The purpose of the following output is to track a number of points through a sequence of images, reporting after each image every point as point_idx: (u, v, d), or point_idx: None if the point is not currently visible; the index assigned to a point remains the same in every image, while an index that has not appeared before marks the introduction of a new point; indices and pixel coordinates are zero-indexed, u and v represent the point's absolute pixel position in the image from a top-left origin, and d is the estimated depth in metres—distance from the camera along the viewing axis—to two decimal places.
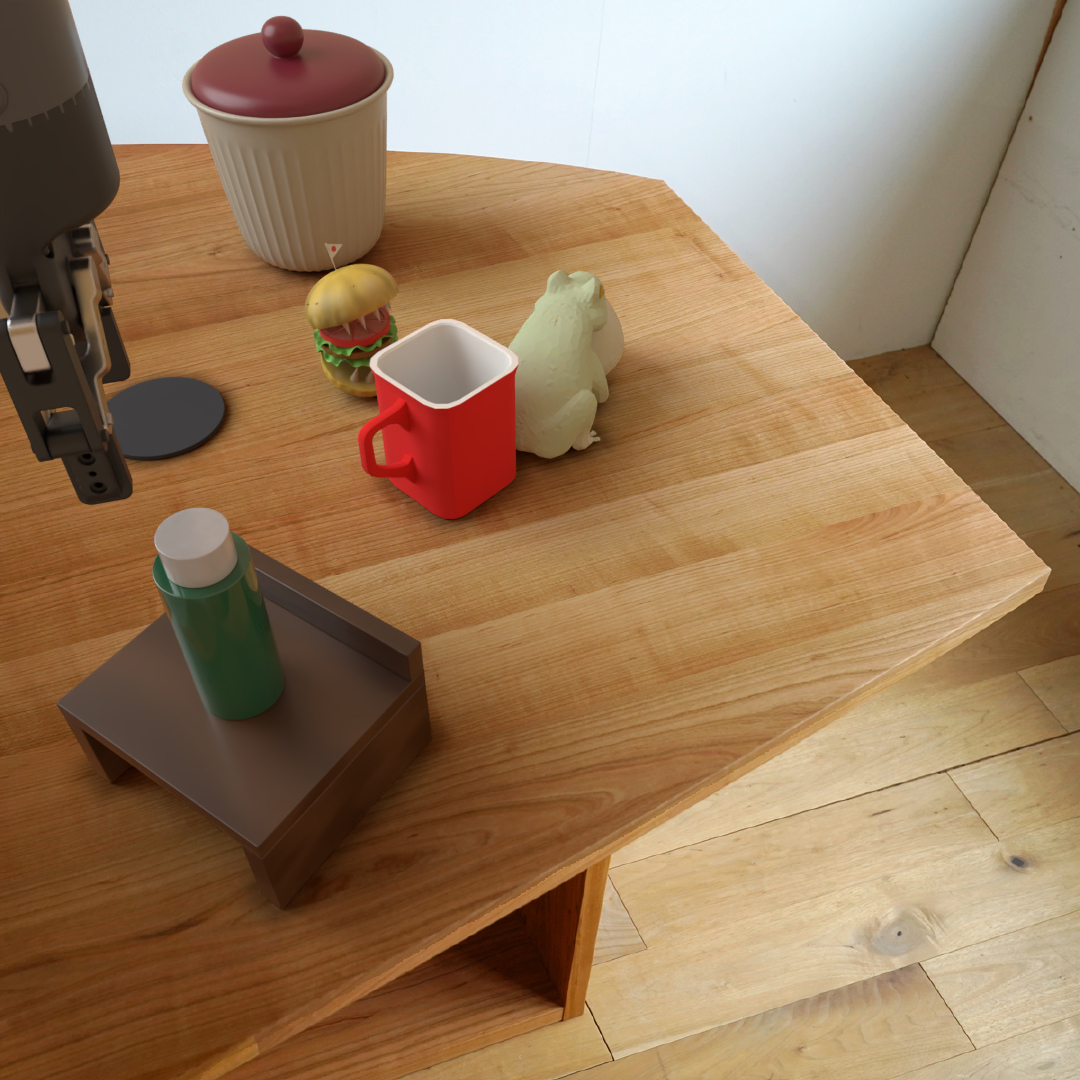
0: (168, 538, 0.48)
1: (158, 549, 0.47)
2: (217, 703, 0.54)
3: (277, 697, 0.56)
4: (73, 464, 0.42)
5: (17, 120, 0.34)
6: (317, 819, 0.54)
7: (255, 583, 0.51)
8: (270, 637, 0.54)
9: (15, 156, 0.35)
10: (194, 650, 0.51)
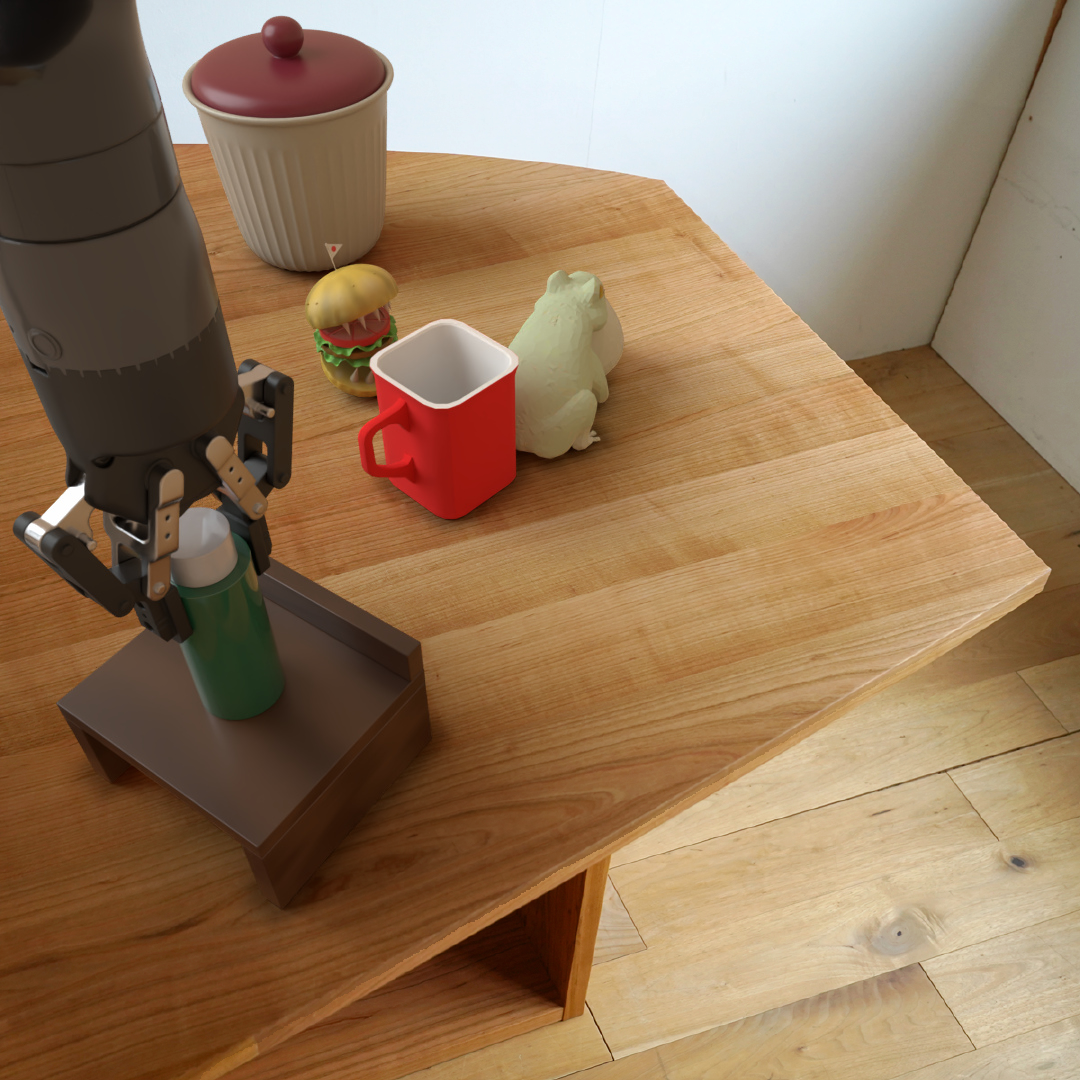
0: None
1: None
2: (217, 703, 0.54)
3: (277, 697, 0.56)
4: None
5: (70, 368, 0.37)
6: (317, 819, 0.54)
7: (255, 583, 0.51)
8: (270, 637, 0.54)
9: (70, 391, 0.38)
10: (194, 650, 0.51)
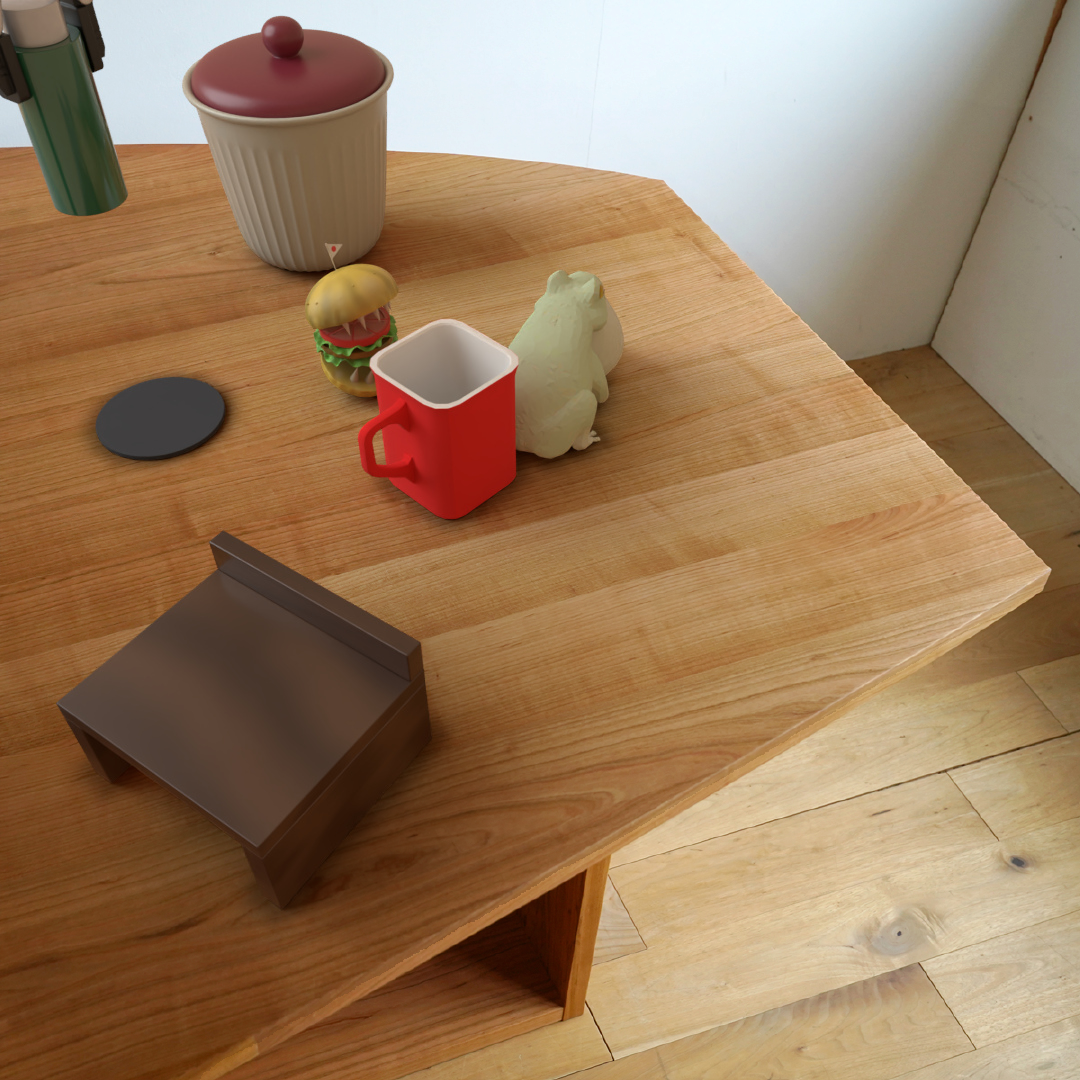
0: (6, 1, 0.58)
1: None
2: (63, 194, 0.64)
3: (118, 203, 0.66)
4: None
5: None
6: (317, 819, 0.54)
7: (86, 64, 0.61)
8: (106, 134, 0.63)
9: None
10: (36, 123, 0.61)
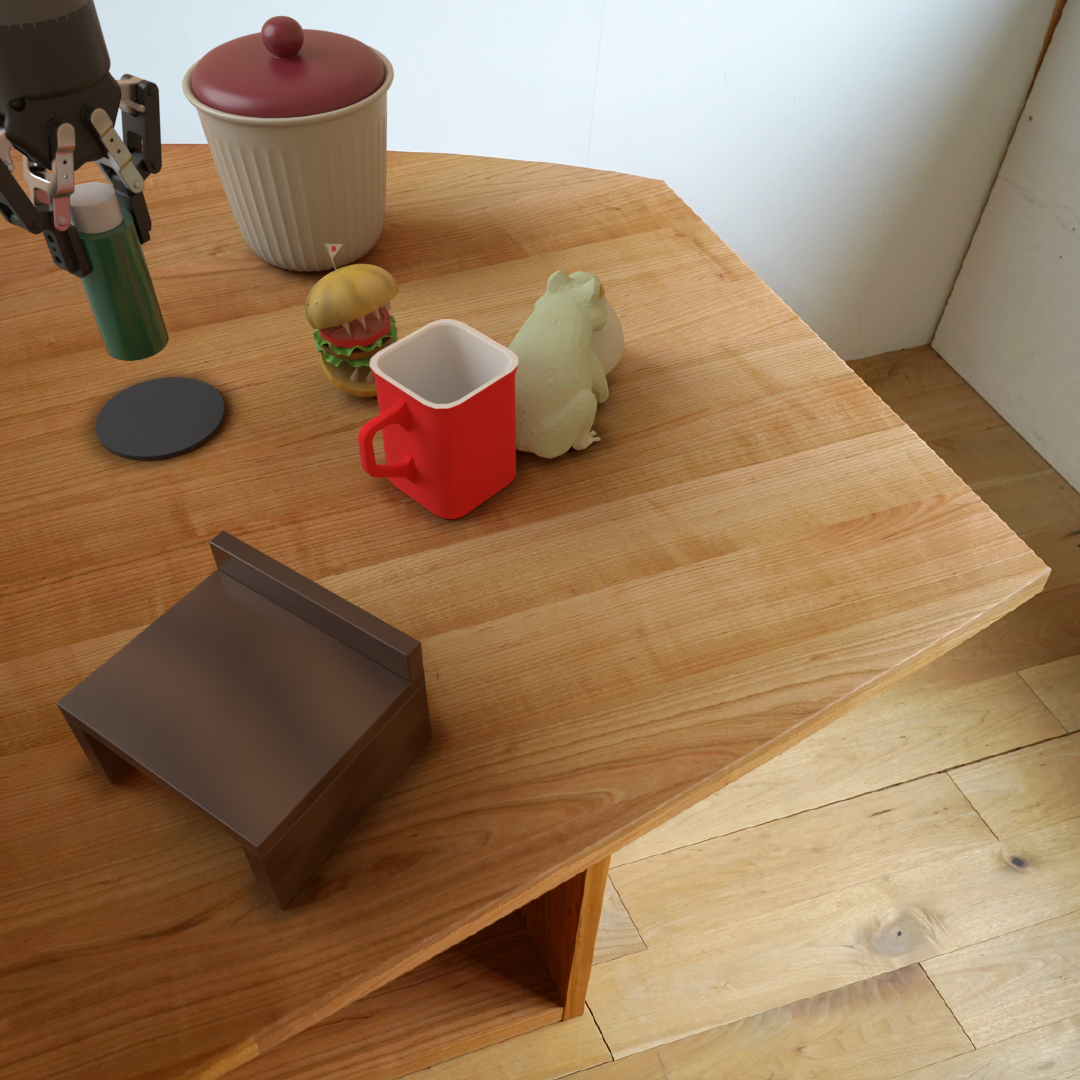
0: (72, 196, 0.69)
1: None
2: (115, 344, 0.75)
3: (161, 348, 0.77)
4: (46, 238, 0.69)
5: None
6: (317, 819, 0.54)
7: (137, 241, 0.72)
8: (152, 294, 0.75)
9: None
10: (94, 291, 0.72)
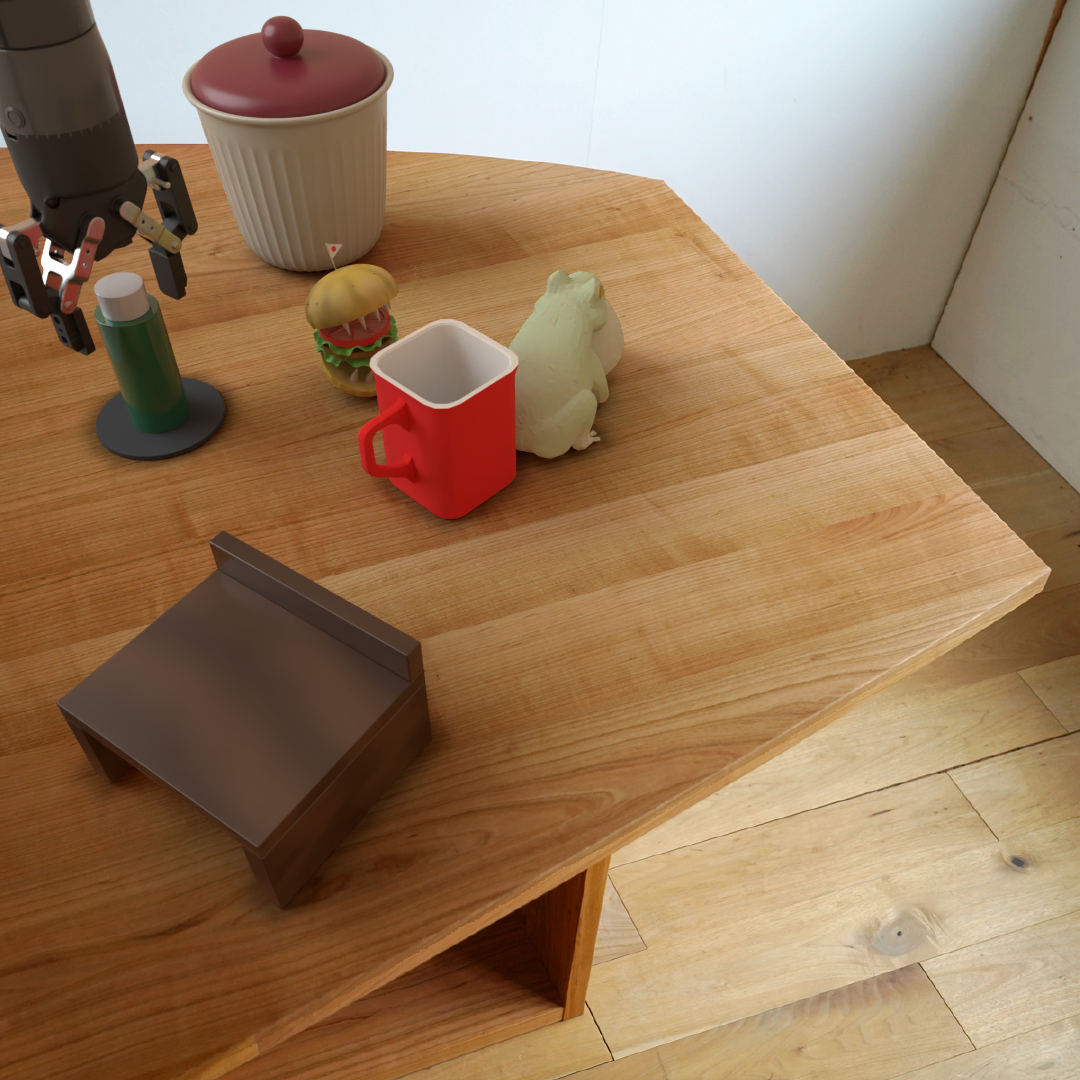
0: (103, 287, 0.74)
1: (96, 293, 0.73)
2: (141, 418, 0.80)
3: (183, 420, 0.82)
4: (52, 319, 0.72)
5: (30, 133, 0.62)
6: (317, 819, 0.54)
7: (162, 326, 0.77)
8: (176, 372, 0.80)
9: (30, 150, 0.63)
10: (123, 371, 0.77)
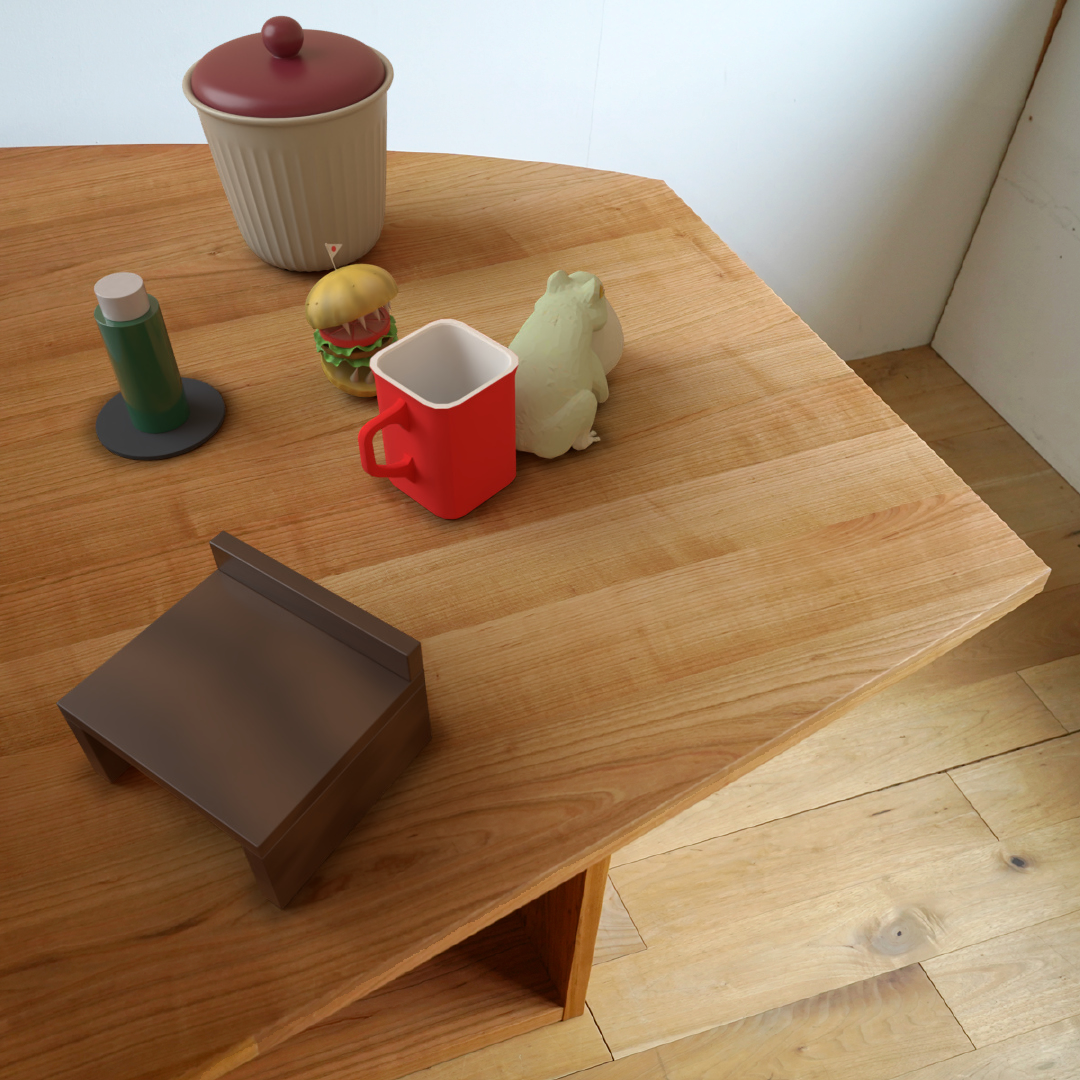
0: (103, 287, 0.74)
1: (96, 293, 0.73)
2: (141, 418, 0.80)
3: (183, 420, 0.82)
4: None
5: None
6: (317, 819, 0.54)
7: (162, 326, 0.77)
8: (176, 372, 0.80)
9: None
10: (123, 371, 0.77)
